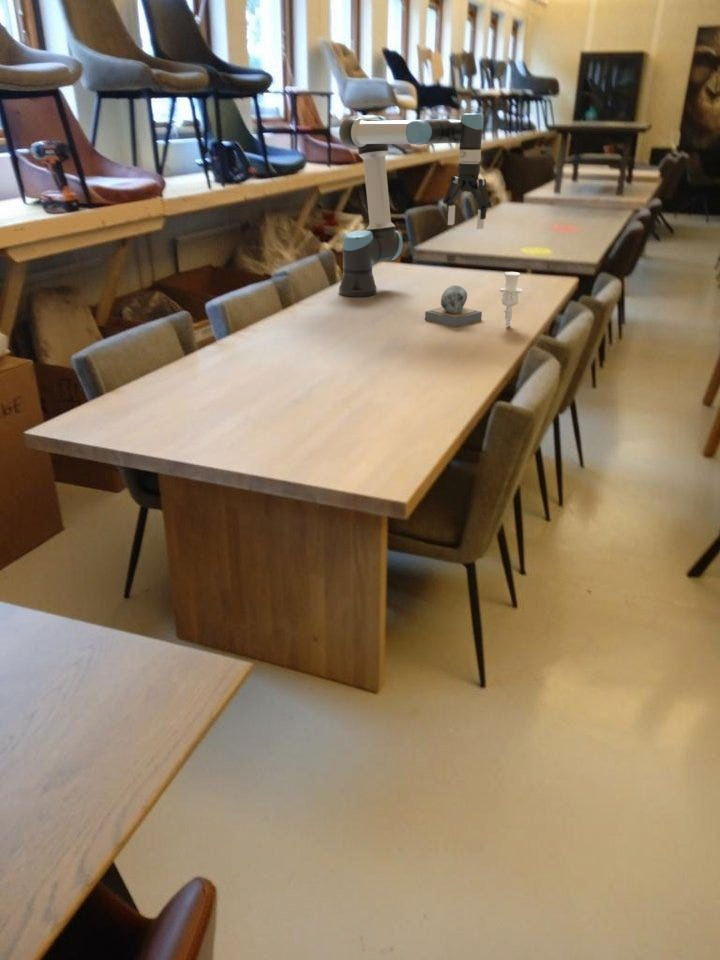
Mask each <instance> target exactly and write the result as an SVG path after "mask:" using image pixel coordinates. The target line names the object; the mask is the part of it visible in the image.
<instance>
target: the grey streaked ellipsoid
mask: <svg viewBox="0 0 720 960" xmlns="http://www.w3.org/2000/svg"><path fill="white" fill-rule="evenodd" d="M467 300H468V292H467V290H466V289H465V288H464V287H462V286H460V285H451V286H449V287H447V288H446V289H445V290H444V292H443V293H442V295H441V298H440V305H441V307H443V308H444V309H445V310H446V311H447V312H449V313H453V314H456V313H458V312H460V311H461V310H462V308H464V306H465V304H466V302H467Z"/></svg>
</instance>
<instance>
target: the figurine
mask: <svg viewBox="0 0 720 960" xmlns="http://www.w3.org/2000/svg"><path fill="white" fill-rule="evenodd" d="M520 275H521V272H517V271H505V272H504V276H505V284H504V285H505V286H502V287H500V288H499V289H498V291H499V292H500V293H502V297H501V299H500V301H501V304H502V305H503V306H505V307H506V308H505V310H504V311H503V312H504V319H505V325H504V327H506V328H509V327H510V325H511V321H512V317H513V307H515V306H516V305H517V304H518V303H519V301H520V300H519V295H518V294H521V293H523V289H522V288H521V287H518V281H519V277H520Z"/></svg>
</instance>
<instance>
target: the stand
mask: <svg viewBox="0 0 720 960" xmlns="http://www.w3.org/2000/svg"><path fill="white" fill-rule="evenodd" d="M482 314H483V311H480V310H476V309H473V308H472V309H471V308H467V307H463V308H462V310H461V311H460V312H458V313H456V314H453V313H449V312H447V311H446V310H445V309H444V308H443V307H442V306H441V307H438V308H433V309H429V310H426V311H424V320H425V321H428V322H432V323H436V324H439V325H444V326H448V327H449V326H450V327H453V328H458V327H461V326H466V325H468V324H472V323H476V322H479V321H482Z"/></svg>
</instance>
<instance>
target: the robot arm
mask: <svg viewBox="0 0 720 960" xmlns="http://www.w3.org/2000/svg"><path fill="white" fill-rule="evenodd" d="M338 130H339V131H338V134H339V139H340V141H341V143H342V144H343V145H344V147H346V148H348V149H351V150H358V156H359V157H360V158H361V159H362V162H363V169H364V171H363V172H364V180H365V191H366V192H365V193H366V201H367V202H366V203H367V211H368V221H369V224H368V226H367V227H366V228H365V230H364V229H362V230H361V229H360V230H354V231H351V232H347V233H346V234H344V236H343V239H342V264H343V265H342V269H343V270H342V273H343V274H342V277H341V281H340V285H339V286H338V293H339V295H341V296H345V297H346V296H347V297H353V298H362V297H370V296H374V295H377V285H376V282H375V279H374V275H373V265H374V264H379V263H387V262H390V261H393V260H396V259H397V258H398V257H399V255H401V253H402V249H403V244H404V243H403V237H402V235H400V232H399V231H397V230H396V225H395V224H394V223H393V222H392V219H391V218H392V217H391V209H390V207H391V206H390V197H389V186H388V176H387V175H388V174H387V165H386V164H387V163H386V156H387V155H388V153H389V147H390V146H391V145H418V146H420V145H421V146H422V145H430V144H433V145H434V144H435V145H437V144H459V147H458V148H459V150H458V151H459V153H458V162H459V163H458V164H457V165H458V166H457V168H458V169H457V174H458V176H456V175H455V176H451V178H450V183H449V187H448V189H447V191H446V193H445V195H444V198H443V200H442V203H443V204H445V205H446V206H447V207H446V208H447V210H446V214H447V226H453V225H455V219H456V218H455V217H456V205H455V203H456V201H457V200H458V199H459V197H460V196H461V195H462V193H463V192H468V193H471V194H472V195H473V197H474V200H475V201H476V203H477V205H478V207H479V209H477V222H476V230H482V229H484V223H485V220H486V218H487V209H492V202H491V199H490V195H489V192H488V189H487V188H488V187H487V180H486V178H479V175H480V170H481V164H480V162H481V159H482V138H483V131H484V116H483V114H482V113H469V112H468V113H462V114H461V115H460V119H452V118H451V119H449V118H441V119H440V118H439V119H406V120H405V119H402V120H399V119H397V120H388V119H387V118H386V117H385V116H383V115H377V114H372V115H371V114H369V115H368V114H365V115H351V116H348V117H346V118H345V119H343V120H342V122H341V124H340V126H339V129H338Z"/></svg>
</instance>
